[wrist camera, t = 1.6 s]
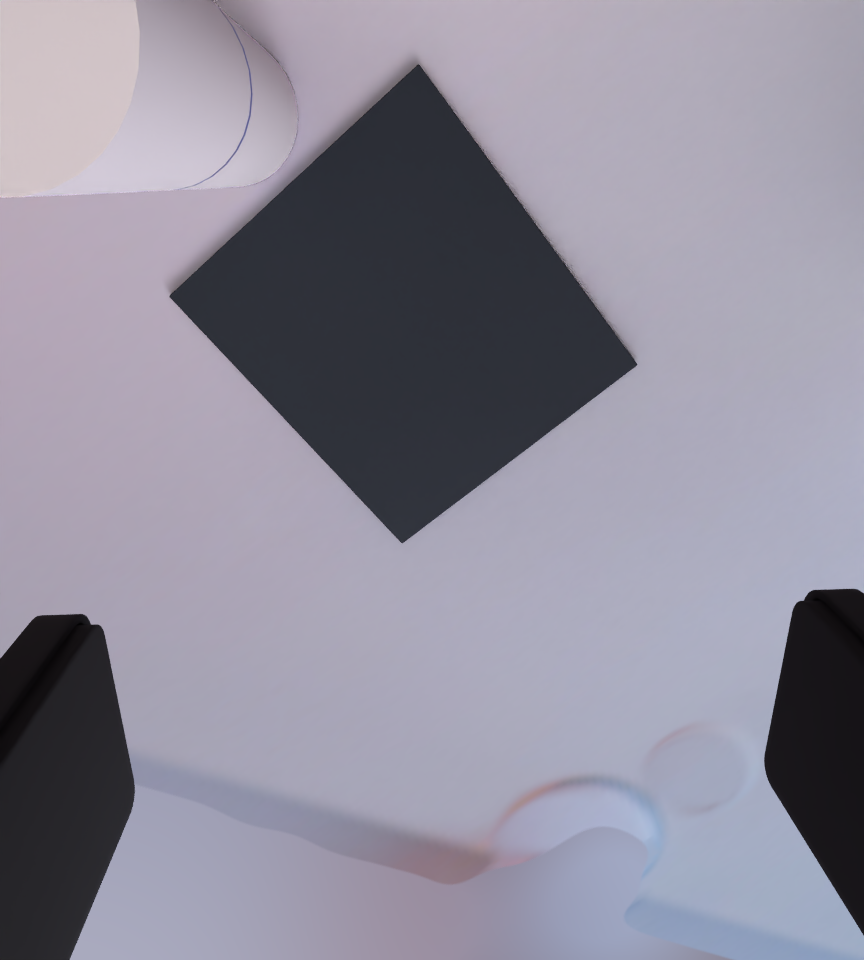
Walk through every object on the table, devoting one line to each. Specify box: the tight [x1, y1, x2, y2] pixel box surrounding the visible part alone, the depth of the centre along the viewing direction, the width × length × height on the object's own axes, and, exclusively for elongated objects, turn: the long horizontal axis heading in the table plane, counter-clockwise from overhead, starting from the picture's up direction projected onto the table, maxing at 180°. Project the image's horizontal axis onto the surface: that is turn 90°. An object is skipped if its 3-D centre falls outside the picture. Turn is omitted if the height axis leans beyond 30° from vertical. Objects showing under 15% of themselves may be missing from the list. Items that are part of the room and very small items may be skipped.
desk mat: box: [170, 65, 637, 543], centre depth 43 cm, size 18×20×1 cm
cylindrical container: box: [0, 0, 298, 198], centre depth 27 cm, size 7×7×25 cm
